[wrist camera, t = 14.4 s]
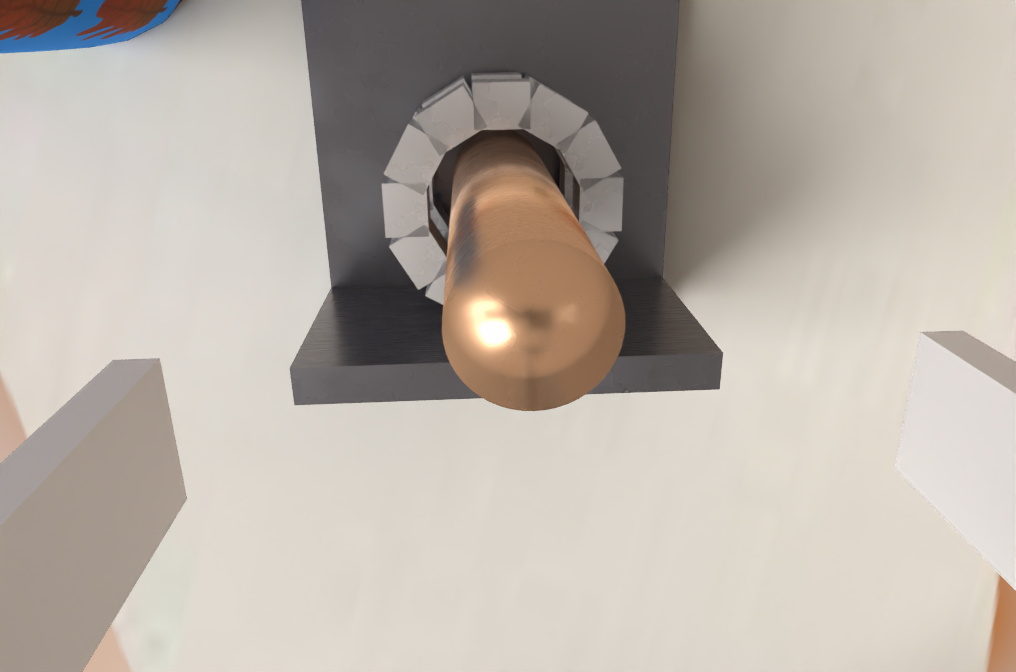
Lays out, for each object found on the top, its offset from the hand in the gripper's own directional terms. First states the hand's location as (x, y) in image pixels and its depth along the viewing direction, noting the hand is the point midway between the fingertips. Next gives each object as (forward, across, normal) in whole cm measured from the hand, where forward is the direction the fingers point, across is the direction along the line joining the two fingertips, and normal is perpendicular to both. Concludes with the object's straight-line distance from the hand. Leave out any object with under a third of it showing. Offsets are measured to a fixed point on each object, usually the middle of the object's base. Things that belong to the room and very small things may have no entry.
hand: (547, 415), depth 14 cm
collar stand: (+25, 0, 0) cm, 25 cm away
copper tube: (+24, 0, 0) cm, 24 cm away
